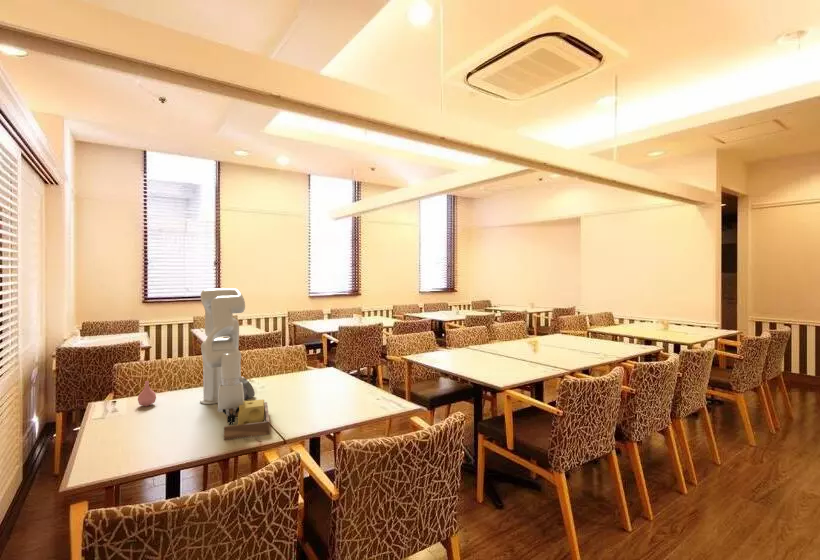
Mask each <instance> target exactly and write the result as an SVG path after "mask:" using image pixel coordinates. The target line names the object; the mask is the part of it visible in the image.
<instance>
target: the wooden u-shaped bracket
mask: <svg viewBox="0 0 820 560" xmlns="http://www.w3.org/2000/svg"><path fill="white" fill-rule="evenodd" d="M229 410H230V413H231V415H232V412H233V408H231V409H229ZM238 413H239V411H238V412H237V413H236V415H235V418H238ZM270 430H271V429H270V414H269V407H268V402H267V401H264V422H257V423H249V424H241V425H238V424H233V425H227V426H226V425H225V426H223V441H227V440H230V441H231V440H235V439H242V438H250V437H251V436H252V437H258V436H257V435H259V436H265V435H270V433H271V432H270Z"/></svg>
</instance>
